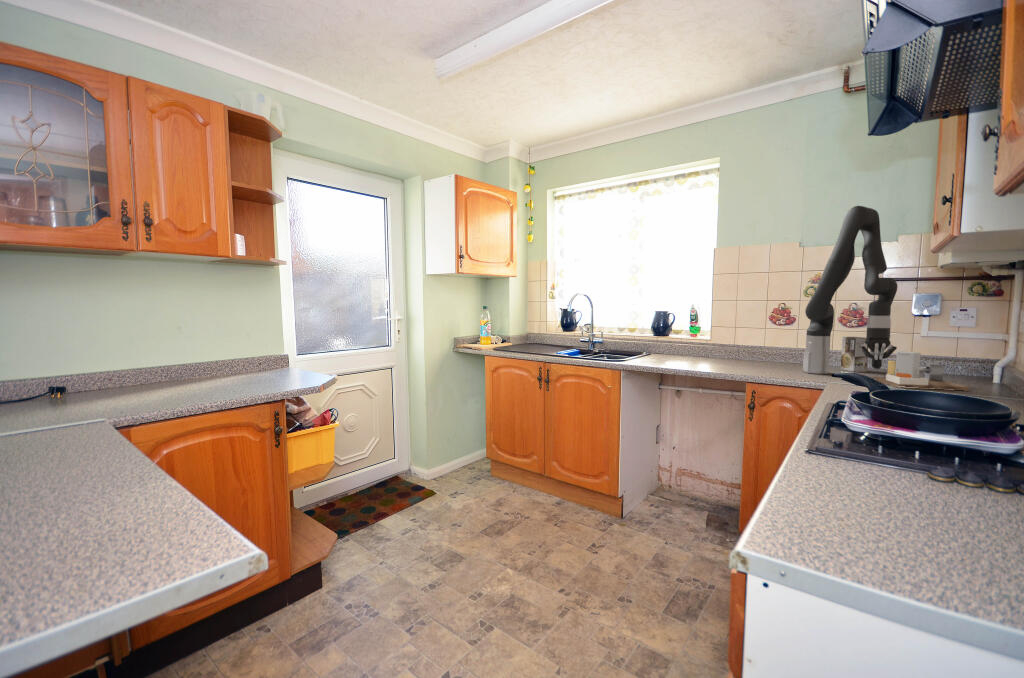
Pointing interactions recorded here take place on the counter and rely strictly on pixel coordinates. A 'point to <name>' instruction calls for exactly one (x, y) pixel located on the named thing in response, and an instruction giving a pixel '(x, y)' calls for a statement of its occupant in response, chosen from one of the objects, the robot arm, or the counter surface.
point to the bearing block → (934, 372)
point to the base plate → (930, 385)
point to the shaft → (893, 364)
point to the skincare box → (907, 364)
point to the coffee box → (853, 354)
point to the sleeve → (907, 380)
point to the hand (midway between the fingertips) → (876, 368)
